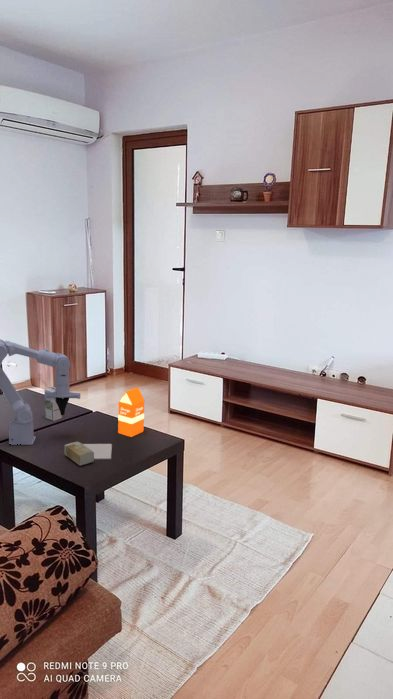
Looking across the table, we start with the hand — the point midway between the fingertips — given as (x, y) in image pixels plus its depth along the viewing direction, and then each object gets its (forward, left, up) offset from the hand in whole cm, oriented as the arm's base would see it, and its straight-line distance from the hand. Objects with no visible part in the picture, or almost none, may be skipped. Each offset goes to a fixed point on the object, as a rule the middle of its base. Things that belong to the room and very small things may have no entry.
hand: (62, 414), depth 214 cm
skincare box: (+5, -17, -8) cm, 19 cm away
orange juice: (+29, +6, -11) cm, 31 cm away
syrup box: (-7, +23, -11) cm, 26 cm away
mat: (+14, -15, -10) cm, 23 cm away
